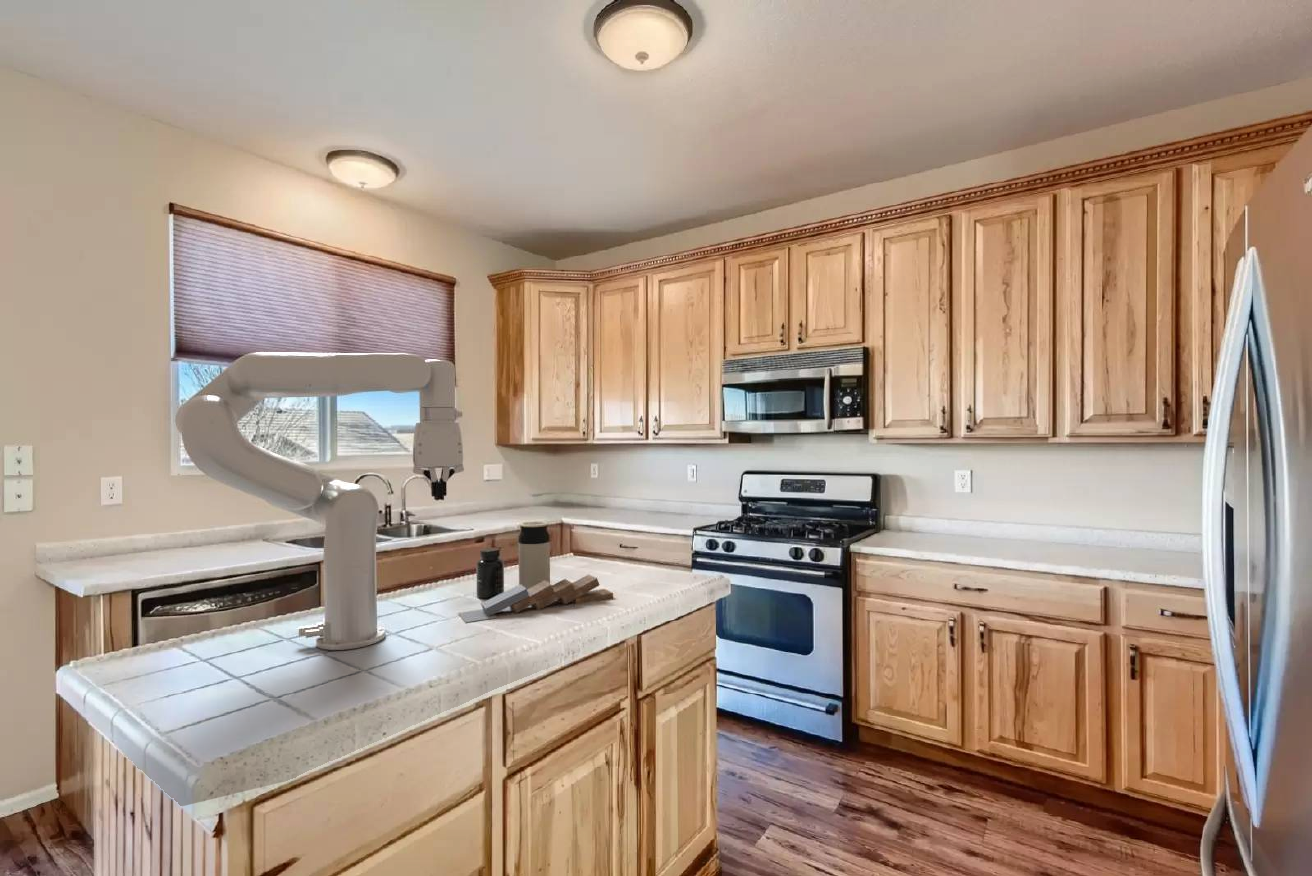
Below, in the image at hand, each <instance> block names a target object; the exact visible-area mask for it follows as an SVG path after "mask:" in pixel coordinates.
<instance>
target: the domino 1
mask: <svg viewBox="0 0 1312 876" xmlns="http://www.w3.org/2000/svg"><path fill="white" fill-rule="evenodd" d="M527 597H529V594H528V591H527V589H526V588H525V587H524V586H522V585H521V584H520V585H519V584H518V585H515V586H514V587H512V588H510V589H508V590H506V591H505V590H504V592H503V593H501V594H499V595H497V596H495V597H493V598H491V599H486V600H485V601H483V602H481V603H480V605H481V608H482V609H483V610H484V612H485V613H486V614H487V615H488V617H489V616H491V615H493V614H495V615H496V614H497V613H499V612H501V611H503V610H505V609H507V608H510V606H511V605H513V604H515V603H517V602H519V601H521V600H523V599H525V598H527Z"/></svg>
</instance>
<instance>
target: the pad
mask: <svg viewBox="0 0 1312 876" xmlns="http://www.w3.org/2000/svg"><path fill="white" fill-rule="evenodd" d="M457 614H458V616H459V617H460V618H461V620H463V622H464V623H465V624H468V623H473V622H475V623H476V622H480V621H487V620H494V619H498V616H497V615H496V613H495V614H493V615H491V616H489V617H488V615H487V614H486V613H485V612H484V610H483V608H482V609H477V610H476V609H475V610H470V611H463V612H458V613H457Z"/></svg>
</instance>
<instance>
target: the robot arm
mask: <svg viewBox="0 0 1312 876" xmlns="http://www.w3.org/2000/svg"><path fill="white" fill-rule="evenodd" d="M370 392H371V393H372V392H391V393H395V394H404V393H417V392H419V394H418V395H419V422H416V423H415V425H414V432H413V443H412V444H413V445H412V463H413V466H412V473H414V474H418V475H422V476H424V477H426V478H427V479H428V480H429V481H430V491H431V493H430V494H431V497H433V499H434V501H444V500H445V497H446V496H447V492H448V491H447V482H448V481H449V479H450V478H452V476H453V475H454V474H458V473H463V472H464V470H465V468H464V465H463V463H464V450H463V449H464V448H463V441H462V432H461V428H460V423H459V422H457V419H460V418H463V411H459V410H457V408H456V366H455V364H454V362H452V361H450V360H445V359H424V358H423V357H422V356H420V355H416V354H412V353H344V352H343V353H342V352H341V353H340V352H337V353H336V352H333V353H332V352H329V353H327V352H324V353H323V352H273V351H272V352H270V351H268V352H266V351H265V352H264V351H260V352H250V353H247V354H244V355H242V356H241V357H239V358H237V359H236V360H234V361H233V362H231V364H230V365H229V366H227V367H226V368H225V369H224V370H223V371H222V372H220V373H219V374H218V375H217V376H216V377H214V379H212V380H211V381H210V382H208V384H206V385H204V386H203V387H202V388H201V389H200V390H198V391H197V392H196V393H195V394H194V395H192V396H191V397H190V398H189V399H187V400H186V401H185V402H184V403H182V404H181V405H180V406H179V408H178V409H177V411H176V413H175V419H174V420H175V426H176V428H177V430H178V432H179V433H180V434H181V438H182V445H183V447H184V450H185V452H186V454H187V456H188V457H189V459H190V461H192V463H193V464H194V466H195V467H196V468H197V469H198V470H199V471H201V472H202V473H203V474H204V475H206V476H208V477H209V478H210V479H213V480H214V481H217V482H219V483H221V484H223V485H226V486H229V487H230V488H232V489H235V490H238V491H241V492H243V493H245V494H248V495H251V496H253V497H255V498H258V499H261V500H264V501H265V502H266V503H267V504H269V505H271V506H273V507H275V508H278V509H282V510H283V511H287V512H290V513H292V514H296V515H297V516H298V515H299V516H301V517H303V518H307V519H309V520H313V521H315V522H318V523H319V524H320V523H321V524H323V525H325V532H324V540H323V589H324V591H323V592H324V595H323V601H324V602H323V603H324V617H322V621H320V622H316V624H315V625H314V624H312V625H301V626H299V627H298V637H299V638H300V637H305V638H306V639H307V638H314V637H317V638H315V639H316V640H315V644H316V646H317V647H318V648H319V649H322V650H329V651H343V650H344V651H346V650H352V649H357V648H363V647H367V646H370V645H374V644H376V643H378V642H380V641H381V640H384V638H385V637H386V628H384V627H382V626H380V625H378V602H377V601H378V597H377V596H378V595H377V594H378V593H377V589H378V588H377V587H378V586H377V532H378V525H379V518H380V514H379V513H380V508H379V503H378V501H377V498H376V496H375V495H374V493H373V492H372V491H371V490H370V489H368V488H367V487H366V486H363V485H362V484H357V483H354V482H353V483H351V482H347V481H343V480H340V479H337V478H335V477H332V476H330V475H327V474H325V473H323V472H320V471H317V470H316V469H315V468H313V467H312V466H310V465H309V464H307V463H304V462H301V461H297V460H294V459H291V458H289V457H285V456H282V455H280V454H277V453H275V452H272V451H270V450H268V449H266V448H263V446H262V447H261V446H260V445H257V444H254V443H252V442H251V441H249V440H248V439H246V438H245V437H244V436H243V435H242V434H241V432H240V430H239V426H238V423H239V422H241V420H243V418H245V417H246V416H247V415H248V414H249V413H250V412H251V411H253V410H254V408H256V407H257V406H258V405H260V403H261V402H262V401H263V400H264V399H275V398H276V399H277V398H278V399H279V398H280V399H281V398H315V397H316V398H318V397H319V398H321V397H322V398H323V397H325V398H326V397H327V398H328V397H340V396H341V397H342V396H348V395H352V394H353V395H354V394H359V393H361V394H362V393H370ZM438 468H439V469H441V471H440V478H438V475H437V471H436V469H438Z"/></svg>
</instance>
